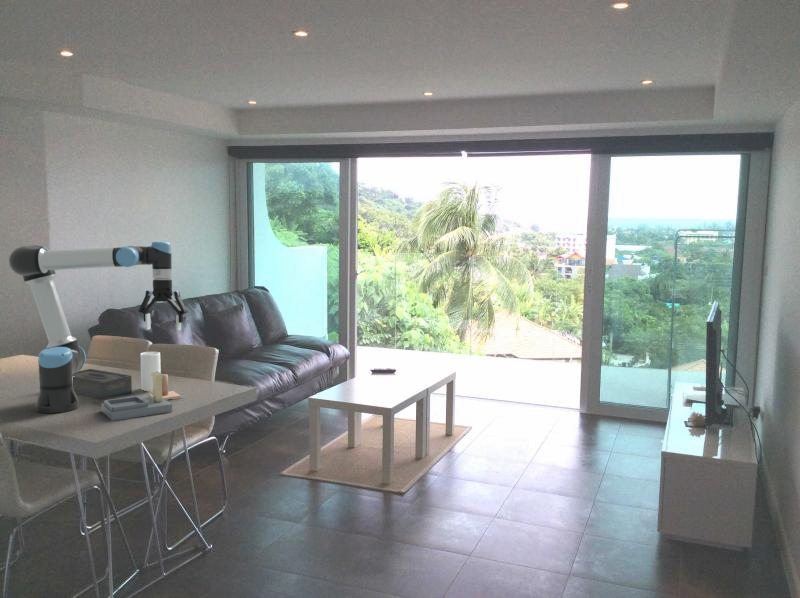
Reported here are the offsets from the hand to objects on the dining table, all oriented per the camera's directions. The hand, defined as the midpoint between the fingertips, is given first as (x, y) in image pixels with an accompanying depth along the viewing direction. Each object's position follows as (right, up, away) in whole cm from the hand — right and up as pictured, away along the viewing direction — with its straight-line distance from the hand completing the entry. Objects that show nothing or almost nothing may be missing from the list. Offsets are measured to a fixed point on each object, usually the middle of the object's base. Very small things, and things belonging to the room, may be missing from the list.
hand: (163, 330), depth 281 cm
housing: (-3, -31, -20) cm, 37 cm away
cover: (0, -29, +3) cm, 29 cm away
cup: (-12, -27, +18) cm, 35 cm away
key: (+1, -27, -13) cm, 30 cm away
